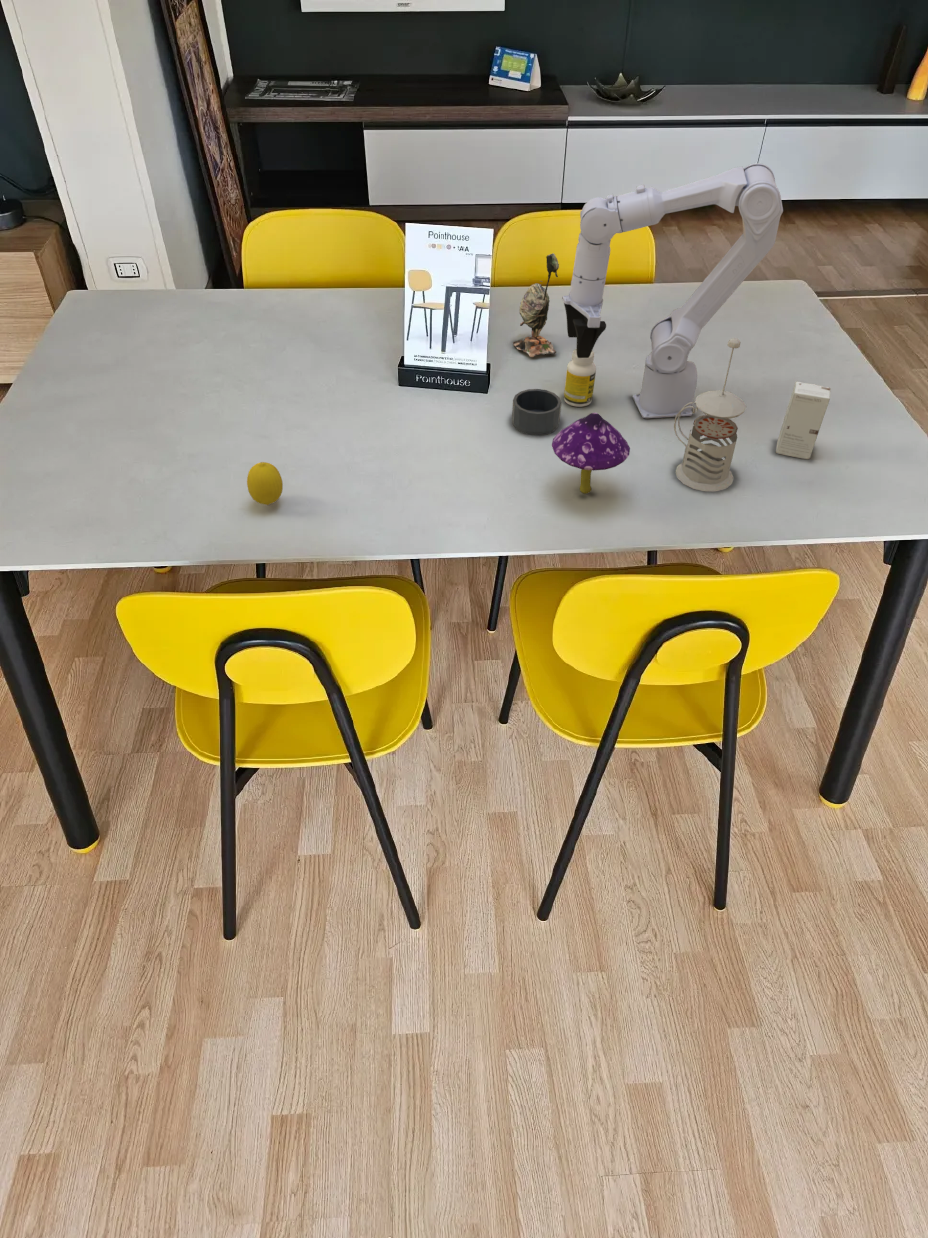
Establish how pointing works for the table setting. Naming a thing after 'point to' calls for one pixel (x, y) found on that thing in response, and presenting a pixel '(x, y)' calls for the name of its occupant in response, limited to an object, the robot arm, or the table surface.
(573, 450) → the decorative mushroom
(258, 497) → the lemon
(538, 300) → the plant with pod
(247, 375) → the table surface
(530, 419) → the metal bowl
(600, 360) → the table surface
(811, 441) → the cosmetic box
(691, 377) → the robot arm
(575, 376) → the supplement bottle
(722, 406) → the french press
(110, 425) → the table surface
